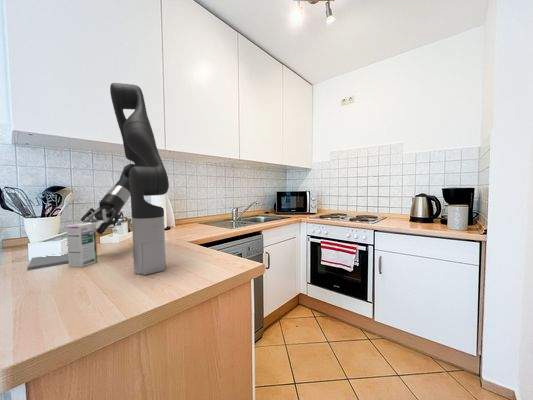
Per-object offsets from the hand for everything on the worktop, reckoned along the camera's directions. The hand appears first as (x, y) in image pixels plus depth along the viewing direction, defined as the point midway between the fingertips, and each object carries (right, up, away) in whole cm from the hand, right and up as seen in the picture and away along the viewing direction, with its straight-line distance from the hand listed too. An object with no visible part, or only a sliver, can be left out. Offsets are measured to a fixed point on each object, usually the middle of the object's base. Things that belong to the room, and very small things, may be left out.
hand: (89, 232), depth 82 cm
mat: (-14, -11, +2) cm, 18 cm away
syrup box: (0, -11, -2) cm, 11 cm away
